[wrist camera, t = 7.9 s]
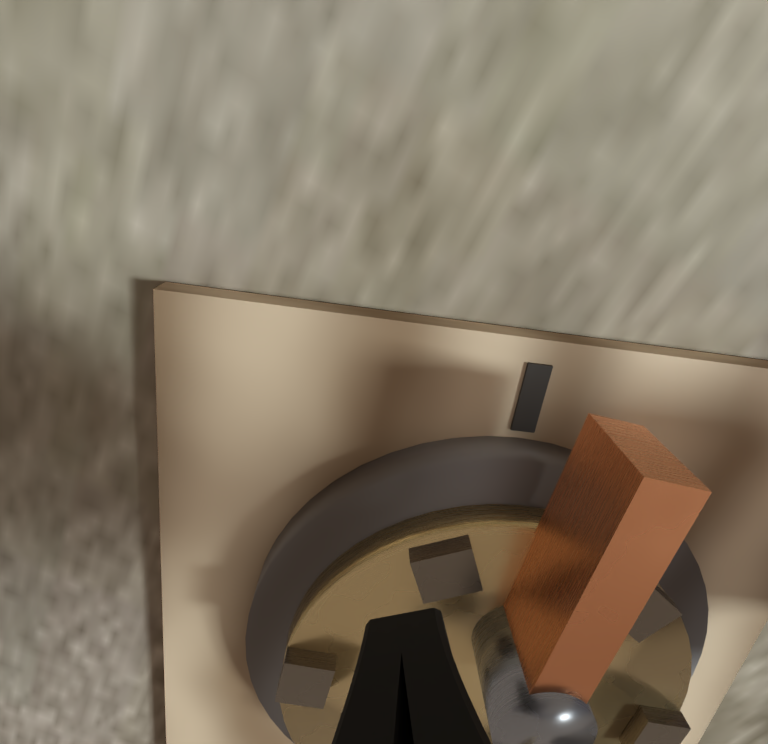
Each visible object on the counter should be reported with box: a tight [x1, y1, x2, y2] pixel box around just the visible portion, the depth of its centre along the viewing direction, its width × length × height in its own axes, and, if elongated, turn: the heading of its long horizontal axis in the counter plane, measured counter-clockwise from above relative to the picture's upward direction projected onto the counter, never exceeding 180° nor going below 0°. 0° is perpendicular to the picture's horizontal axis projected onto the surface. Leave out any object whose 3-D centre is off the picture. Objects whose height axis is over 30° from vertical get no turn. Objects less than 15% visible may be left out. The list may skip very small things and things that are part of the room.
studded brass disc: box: [275, 413, 712, 744], centre depth 16 cm, size 18×14×4 cm
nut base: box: [153, 282, 768, 744], centre depth 20 cm, size 24×24×2 cm
